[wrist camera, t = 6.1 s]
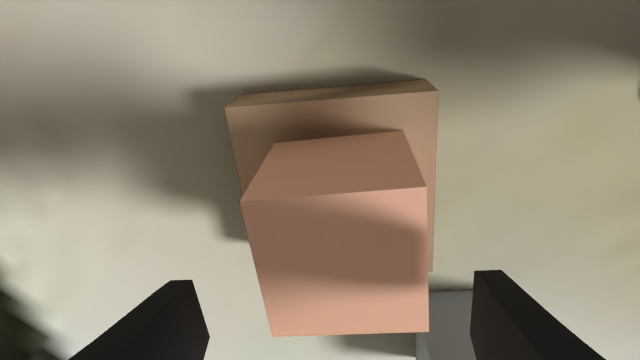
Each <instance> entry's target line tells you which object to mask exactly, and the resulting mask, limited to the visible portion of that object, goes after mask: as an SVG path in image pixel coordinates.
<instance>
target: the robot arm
mask: <svg viewBox="0 0 640 360" xmlns="http://www.w3.org/2000/svg"><path fill="white" fill-rule="evenodd" d="M470 337H471V341H472V345H473V349H474V352H475V356H476V360H606V359H604V358H603V357H602V356H600V355H599V354H598V353H597V352H595V351H594V350H593V349H592V348H590V347H589V346H588V345H587V344H586V343H584V342H583V341H582V340H581V339H579V338H578V337H577V336H576V335H575V334H573V333H572V332H571V331H570V330H569V329H567V328H566V327H565V326H564V325H563V324H562V323H560V322H559V321H558V320H557V319H556V318H555V317H553V316H552V315H551V314H550V313H549V312H548V311H546V310H545V309H544V308H543V307H542V306H541V305H540V304H539V303H537V302H536V301H535V300H534V299H533V298H532V297H531V296H530V295H528V294H527V293H526V292H525V291H524V290H523V289H522V288H521V287H520V286H518V285H517V284H516V283H515V282H514V281H513V280H512V279H511V278H509V277H508V276H507V275H506V274H505V273H504V272H503V271H502V270H486V271H474V284H473V297H472V309H471V322H470ZM209 338H210V336H209V333H208V330H207V326H206V323H205V320H204V317H203V314H202V310H201V307H200V304H199V301H198V297H197V294H196V291H195V288H194V284H193V281H192V280H172V281H169V282H168V283H166V284H165V285H164V286H162V287H161V288H160V289H158V290H157V291H156V292H154V293H153V294H152V295H151V296H149V297H148V298H147V299H145V300H144V301H143V302H142V303H140V304H139V305H138V306H137V307H135V308H134V309H133V310H132V311H131V312H129V313H128V314H127V315H126V316H124V317H123V318H122V319H121V320H119V321H118V322H117V323H115V324H114V325H113V326H112V327H110V328H109V329H108V330H107V331H105V332H104V333H103V334H102V335H100V336H99V337H98V338H97V339H95V340H94V341H93V342H91V343H90V344H89V345H87V346H86V347H85V348H83V349H82V350H81V351H79V352H78V353H77V354H75V355H74V356H73V357H71V358H70V359H69V360H203V359H204V356H205V352H206V348H207V345H208V341H209Z"/></svg>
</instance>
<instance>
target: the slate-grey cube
mask: <svg viewBox="0 0 640 360" xmlns="http://www.w3.org/2000/svg"><path fill="white" fill-rule="evenodd" d="M428 297H429V332H416V360H476V356H475V352H474V349H473V345H472V341H471V337H470V322H471V309H472V297H473V290H468V291H435V292H428Z"/></svg>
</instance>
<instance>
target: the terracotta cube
mask: <svg viewBox="0 0 640 360" xmlns="http://www.w3.org/2000/svg"><path fill="white" fill-rule="evenodd" d="M239 203H240V207H241V211H242V215H243V219H244V223H245V227H246V231H247V235H248V239H249V243H250V247H251V252H252V256H253V260H254V264H255V268H256V272H257V276H258V280H259V284H260V288H261V292H262V296H263V301H264V305H265V309H266V313H267V317H268V321H269V325H270V329H271V333H272V337H282V336H314V335H346V334H378V333H410V332H429V297H428V235H427V186H426V184H425V181H424V179H423V177H422V174H421V172H420V169H419V167H418V165H417V162H416V160H415V157H414V155H413V153H412V150H411V148H410V145H409V143H408V141H407V138H406V136H405V133H404V131H403V130H400V131H390V132H380V133H370V134H360V135H350V136H340V137H330V138H320V139H310V140H300V141H290V142H280V143H274V145H273V147H272V148H271V150H270V152H269V153H268V155H267V157H266V158H265V160H264V162H263V163H262V165H261V167H260V168H259V170H258V172H257V173H256V175H255V177H254V178H253V180H252V182H251V183H250V185H249V187H248V188H247V190H246V191H245V193H244V195H243V196H242V198H241V200H240V201H239Z"/></svg>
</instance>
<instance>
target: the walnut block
mask: <svg viewBox="0 0 640 360" xmlns="http://www.w3.org/2000/svg"><path fill="white" fill-rule="evenodd" d="M224 109H225V114H226V119H227V123H228V128H229V133H230V138H231V143H232V148H233V153H234V158H235V163H236V168H237V173H238V178H239V183H240V188H241V193H242V196H243V195H244V193H245V191H246V190H247V188H248V187H249V185H250V183H251V182H252V180H253V178H254V177H255V175H256V173H257V172H258V170H259V168H260V167H261V165H262V163H263V162H264V160H265V158H266V157H267V155H268V153H269V152H270V150H271V148H272V147H273V145H274V143H280V142H290V141H300V140H310V139H320V138H330V137H340V136H350V135H360V134H370V133H380V132H390V131H400V130H403V131H404V133H405V136H406V138H407V141H408V143H409V145H410V148H411V150H412V153H413V155H414V157H415V160H416V162H417V165H418V167H419V169H420V172H421V174H422V177H423V179H424V181H425V184H426V186H427V235H428V271H433V239H434V208H435V177H436V146H437V115H438V90H437V89H436V88H435V87H434V86H433V85H432V84H431V83H429V82H428V81H427V80H426V79H422V80H410V81H398V82H386V83H374V84H362V85H350V86H338V87H326V88H314V89H302V90H290V91H278V92H266V93H254V94H242V95H241V96H239V97H238V98H237V99H235V100H234V101H233V102H231V103H230V104H229V105H227V106H226V107H225V108H224Z"/></svg>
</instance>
